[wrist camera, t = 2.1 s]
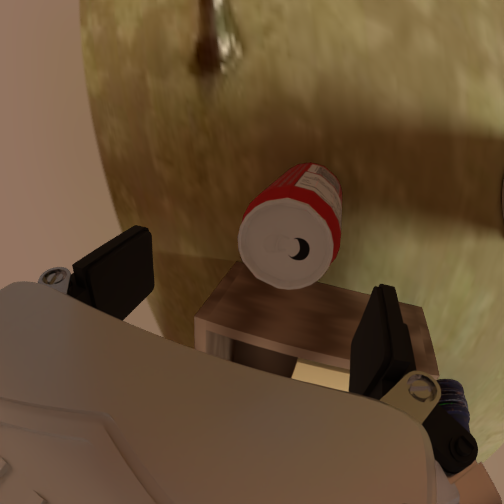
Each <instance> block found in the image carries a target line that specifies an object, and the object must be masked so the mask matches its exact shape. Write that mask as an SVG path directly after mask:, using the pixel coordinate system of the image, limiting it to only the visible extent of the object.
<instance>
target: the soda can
mask: <svg viewBox="0 0 504 504" xmlns="http://www.w3.org/2000/svg"><path fill="white" fill-rule="evenodd" d="M341 219H342V189H341V185H340V183H339V181H338V179H337V177H336V176H335V175H334V174H333V173H331V172H330V171H329V170H328V169H327V168H326V167H325V166H322V165H318V164H315V163H311V162H310V163H304V164H298V165H296V166H294V167H292V168H290V169H289V170H288V171H287V172H285V173H284V174H283V175H282V176H281V177H279V178H278V179H277V180H276V181H275V182H273V183H272V184H271V185H270V186H269V187H268V188H266V189H265V190H264V191H263V192H262V193H261V194H259V195H258V196H257V197H256V198H255V199H254V200H253V201H252V202H251V203H250V204H249V206H248V208H247V210H246V212H245V213H244V215H243V220H242V224H241V226H240V229H239V234H238V249H239V252H240V255H241V258H242V261H243V262H244V263H245V265H246V266H247V267H248V268H249V270H250V271H251V272H252V273H253V275H254V276H255V277H256V278H257V279H260V280H262V281H264V282H266V283H268V284H270V285H272V286H274V287H276V288H279V289H287V290H291V289H300V288H303V287H306V286H309V285H311V284H313V283H314V282H316V281H317V280H319V279H320V278H321V277H322V276H323V275H324V273H325V272H326V271H327V270H328V268H329V266H330V264H331V263H332V262H333V261H334V259H335V258H336V256H337V253H338V251H339V248H340V238H341Z"/></svg>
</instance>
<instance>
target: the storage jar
mask: <svg viewBox="0 0 504 504" xmlns="http://www.w3.org/2000/svg"><path fill="white" fill-rule="evenodd" d="M436 381H437V382H438V384H439V386H440V389H441V397H440V399H439V401H438V404H439V405H440V406H441V407H442V408H443V409H444V410H446V411H447V412H448V413H449V414H450V415H451V416H452V417H453V418H454V419H455V420H456V421H457V422H459V423H460V424H461V425H462V426H463V427H464V428H465V429H466V430H467V431H468V432H469V433H470V430H469V424H468V423H469V420H470V417H469V416H470V414H469V411H468V405H467V401H466V399H465V396H464V391H463V387H462V385H461V384H460V383H459V382H458V381H455V380H451V379H441V380H436ZM475 460H476V459H475Z"/></svg>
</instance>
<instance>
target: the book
mask: <svg viewBox="0 0 504 504" xmlns="http://www.w3.org/2000/svg"><path fill="white" fill-rule="evenodd" d="M349 376H350V370H349V369H345V368H340V367H336V366H331V365H327V364H323V363H318V362H314V361H310V360H306V359H302V358H298V359H297V362H296V365H295V368H294V371H293V374H292V377H291V378H292V379H296V380H300V381H304V382H309V383H313V384H317V385H322V386H326V387H330V388H334V389H338V390H343V391H347V392H349Z"/></svg>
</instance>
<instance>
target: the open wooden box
mask: <svg viewBox="0 0 504 504" xmlns="http://www.w3.org/2000/svg"><path fill="white" fill-rule="evenodd" d="M370 296H371V295H368V294H363V293H359V292H355V291H351V290H347V289H343V288H339V287H335V286H331V285H327V284H323V283H319V282H314V283H313V284H311V285H309V286H306V287H303V288H300V289H291V290H287V289H279V288H276V287H274V286H272V285H270V284H268V283H266V282H264V281H262V280H260V279H257V278H256V277H255V276H254V275H253V273H252V272H251V271H250V270H249V268H248V267H247V266H246V265H245V264H244V263H240V262H237V261H236V263H235V264H234V265H233V267H232V268H231V269H230V271H229V272H228V273H227V274H226V276H225V277H224V278H223V280H222V281H221V282H220V283H219V285H218V286H217V287H216V289H215V290H214V291H213V293H212V294H211V295H210V296H209V298H208V299H207V300H206V302H205V303H204V304H203V306H202V307H201V308H200V309H199V311H198V312H197V313H196V315H195V316H194V337H195V349H196V350H199V351H202V352H204V353H207V354H210V355H213V356H216V357H219V358H222V359H226V360H229V361H232V362H235V363H238V364H241V365H245V366H248V367H252V368H255V369H258V370H262V371H265V372H269V373H273V374H276V375H280V376H284V377H288V378H291V377H292V374H293V371H294V368H295V365H296V362H297V359H298V358H302V359H306V360H310V361H314V362H318V363H323V364H327V365H331V366H336V367H340V368H345V369H349V370H350V353H351V342H352V339H353V337H354V334H355V332H356V330H357V328H358V325H359V323H360V321H361V318H362V316H363V313H364V311H365V308H366V306H367V304H368V301H369V299H370ZM399 306H400V310H401V314H402V319H403V323H405V324H407V326H408V330H409V334H410V339H411V343H412V348H413V353H414V358H415V364H416V369H417V371H422V372H425V373H427V374H429V375H431V376H432V377H433V378H434V379H435V380H437V379H438V377H439V371H438V366H437V362H436V357H435V353H434V349H433V345H432V341H431V337H430V334H429V330H428V326H427V323H426V319H425V316H424V312H423V309H422V307H418V306H413V305H409V304H405V303H401V302H399Z"/></svg>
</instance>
